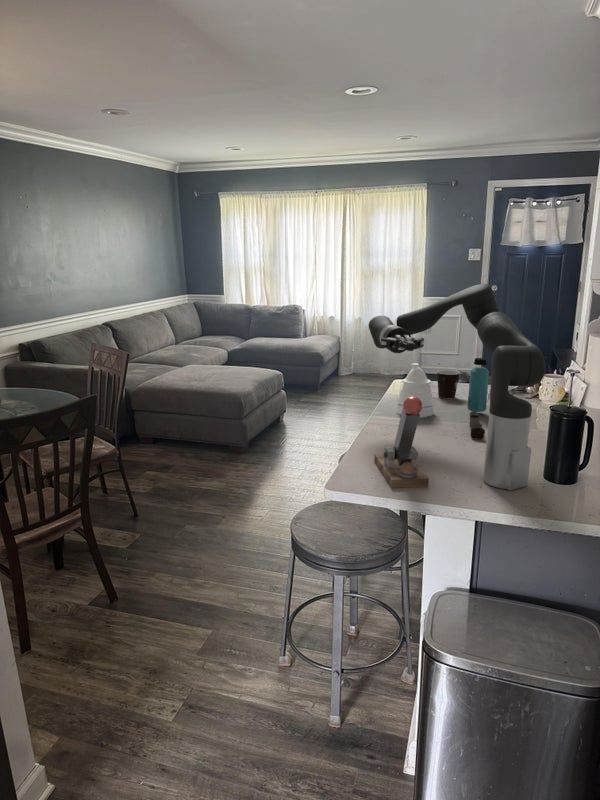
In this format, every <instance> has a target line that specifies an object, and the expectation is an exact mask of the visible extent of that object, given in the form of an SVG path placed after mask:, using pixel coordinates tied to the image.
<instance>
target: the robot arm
mask: <svg viewBox="0 0 600 800" xmlns="http://www.w3.org/2000/svg"><path fill="white" fill-rule="evenodd" d="M461 305H462V307H463V311H464V314H465V316H466V319H467V320H468V322H469V324H471V325H472V326H473V327H474V329H476V331H477V335H478V338H479V340H480V341H481V343H482V345H483V346H484V348H486V349H487V350H488V351H489V352H490V353H493V354H492V359H491V365H490V366H491V368H490V371H491V372H490V373H491V374H490V393H489V394H490V395H489V413H488V420H487V422H488V423H487V431H486V432H487V433H486V444H485V445H486V446H485V456H484V467H483V479H482V480H483V482H484V483H485V484H487V485H489V486H491V487H493V488H499V489H504V490H508V491H513V490H517V489H521V488H525V487H527V486H528V484H529V483H528V482H529V474H530V473H529V472H530V465H531V464H530V463H531V455H532V448H531V447H530V446H528V445H529V440H530V439H529V437H530V429H531V428H530V427H531V422H532V421H531V418H532V411H533V407H532V404H531V402H529V401H528V400H526V399H523V398H520V397H517V396H515V395H513V394H511V393H510V391H509V387H511V386H513V387H515V386H517V387H531V386H534V385H535V386H536V385H538V384H539V383H540V382H542V380H543V379H544V377H545V374H546V360H545V357H544V355H543V353H542V351H541V349H540V348H539V346H537V345H536V344H535V343H533V342H532V341H531V340H529V339H528V338H527V337H526V336H525V335H524V334H523V333H522V332H521V330H520V329H519V328H518V327H517V325H516V324H515V322H514V321H513V320H512V318H511V317H510V316H508V315H507V314H506V313H505V312H504V313H503V312H502V311H501V312H500V311H499V306H498V303H497V300H496V297H495V294H494V291H493V289H492V286H491V285H489V284H487V283H479V284H476V285H472V286H469V287H467V288H465V289H463V290H460V291H458V292H455V293H453V294H452V295H449V296H447V297H444V298H443V299H441V300H438V301H436V302H433V303H432V304H430V305H427V306H425V307H422V308H418V309H415V310H413V311H409V312H406V313H403V314H400V315H398V316H397V318H396V325H395V324H394V323H393V321H392V320H391V318H390V317H388V316H386V315H377V316H374V317H373V318H371V319H370V321H369V322H368V330H369V333H370V334H371V337H372V340H373V344H374V345H375V347H376V348H377V349H383V350H384V349H387V350H388V351H390V352H391V353H394V354H403V353H404V352H406V351H407V352H413V351H414V350H418V349H421V348H424V346H425V338H424V337H418V338H415V337H412V335H416V334H419V333H422V332H426V331H427V330H429V329H431V328H432V327H433V326H435V325H436V324H437V323H438V322H439V320H440V319H441V318H442V317H443V316H444V315H445V314H447V312H449V310H452V309H453V308H455V307H457V306H461Z"/></svg>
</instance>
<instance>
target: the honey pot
mask: <svg viewBox="0 0 600 800" xmlns="http://www.w3.org/2000/svg"><path fill="white" fill-rule="evenodd" d="M401 381H402V383H403V384H402V387H401V388H400V391H399V394H398V396H397V401H396V414H398V415H400V416H401V414H402V410H403V403H404V401H405V400H406V399H407V398H408V397H417V398H419V399H420V400H421V402H422V410H421V412H420V413H419V414H420V417H419V418H428V417H427V416H429V417H431V416H433V415H434V402H435V400H434V397H433V392H432V389H431V387H430V385H431V383H432V381H431V379H428V376H427V375H426V373H425V372H424V370H423V369H422V368H421V367H420V364H419V363H414V362H413V363H411V370H410V371H408V373H407V375H406V377H405V378H403V379H402V380H401Z"/></svg>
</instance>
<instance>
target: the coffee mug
mask: <svg viewBox="0 0 600 800" xmlns="http://www.w3.org/2000/svg"><path fill="white" fill-rule="evenodd" d="M436 376H437V389H438V390H437V392H438V393H437V394H438V396H439V397H438V398H440V397H441V398H440V399H444V398H453V399H455V398H456V393H457V387H458V384H459V377H460V372H459V371H455V370H450V369H449V370H445V369H444V370H437V374H436ZM454 397H455V398H454Z"/></svg>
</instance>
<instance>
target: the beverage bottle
mask: <svg viewBox="0 0 600 800" xmlns="http://www.w3.org/2000/svg"><path fill="white" fill-rule="evenodd" d="M473 365H475V366H474V367H472V368H471V369H470V371H469V372H470V374H469V384H468V386H469V387H468V397H467V410H468V411H470V412H472V411H475V412H476V413H483V412H486V410H487V403H488V395H489V393H488V392H489V391H488V390H489V389H488V386H489V375H490V371H489V370H488V369H487V367H483V366H487V358H484V357H476V358H474V362H473Z"/></svg>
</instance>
